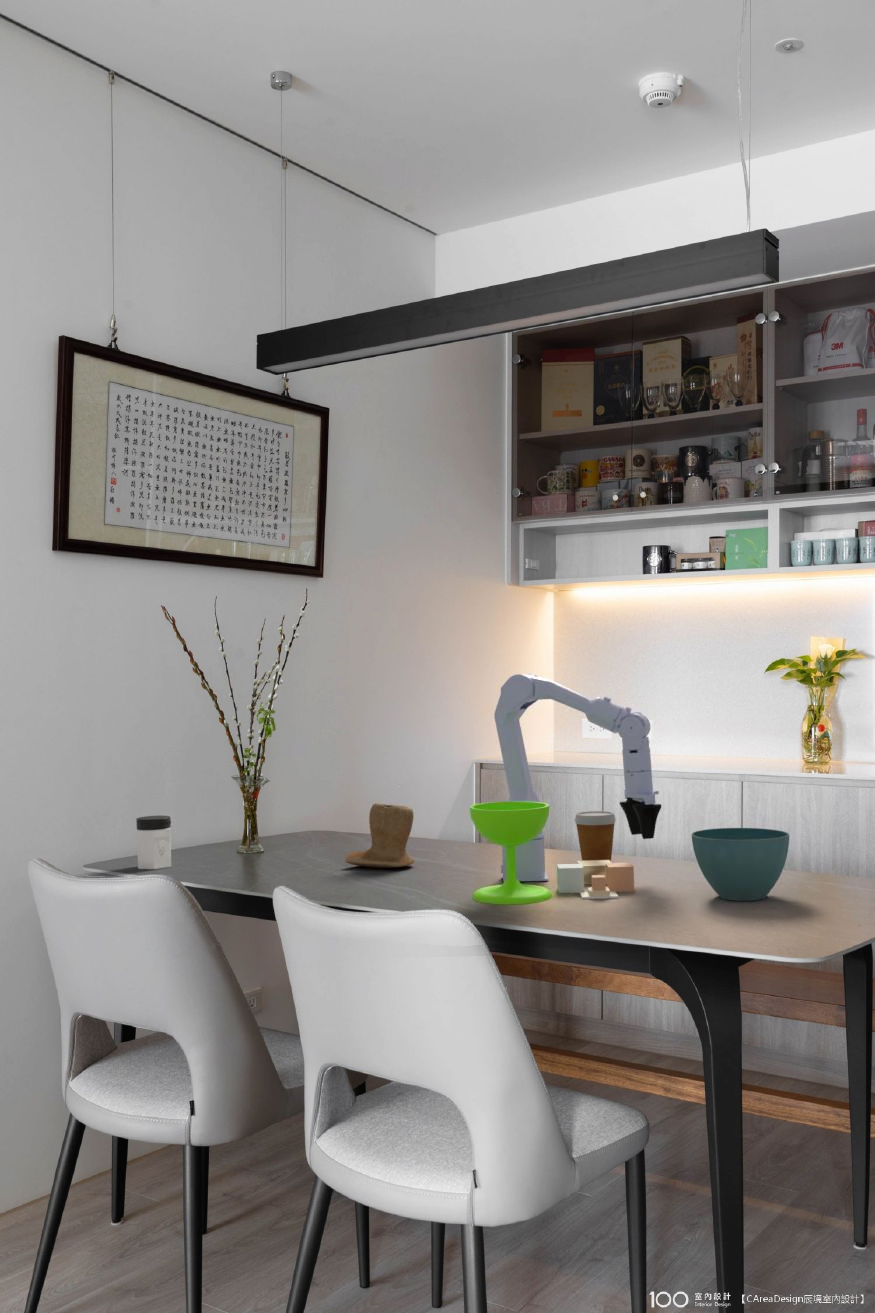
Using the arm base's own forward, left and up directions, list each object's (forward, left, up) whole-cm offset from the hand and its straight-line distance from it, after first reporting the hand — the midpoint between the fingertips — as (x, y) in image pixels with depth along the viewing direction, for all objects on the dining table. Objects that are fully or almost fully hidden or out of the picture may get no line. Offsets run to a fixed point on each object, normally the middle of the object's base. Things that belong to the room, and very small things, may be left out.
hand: (642, 836), depth 237 cm
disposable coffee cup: (-8, +22, -10) cm, 25 cm away
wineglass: (-28, -11, -10) cm, 31 cm away
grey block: (-16, -6, -10) cm, 19 cm away
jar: (-114, +37, -10) cm, 120 cm away
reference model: (-11, -13, -10) cm, 19 cm away
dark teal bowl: (+16, -17, -10) cm, 26 cm away
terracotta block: (-6, -6, -10) cm, 13 cm away
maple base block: (-10, +4, -10) cm, 14 cm away
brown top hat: (-57, +29, -10) cm, 64 cm away
